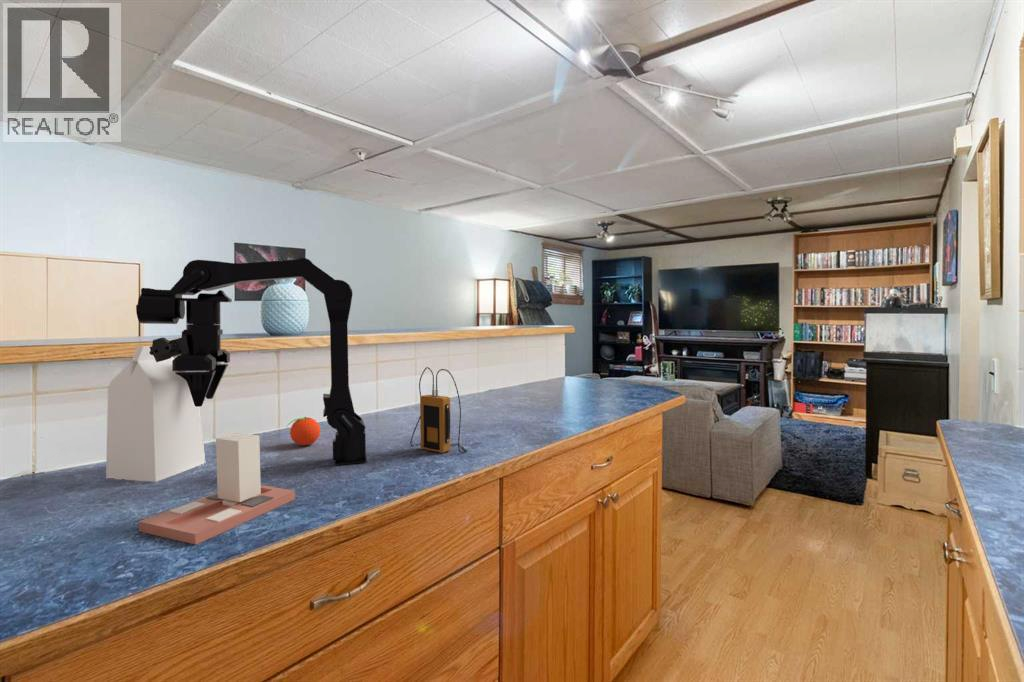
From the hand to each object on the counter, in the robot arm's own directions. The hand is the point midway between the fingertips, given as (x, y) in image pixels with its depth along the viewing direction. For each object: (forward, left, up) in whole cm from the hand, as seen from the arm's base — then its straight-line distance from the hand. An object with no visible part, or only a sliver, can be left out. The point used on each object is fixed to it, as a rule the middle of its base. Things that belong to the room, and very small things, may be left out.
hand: (204, 402), depth 96 cm
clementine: (-17, -18, -15) cm, 29 cm away
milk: (+10, -7, -15) cm, 20 cm away
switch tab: (-10, +21, -15) cm, 27 cm away
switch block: (-8, +23, -15) cm, 28 cm away
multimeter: (-50, -5, -15) cm, 52 cm away
